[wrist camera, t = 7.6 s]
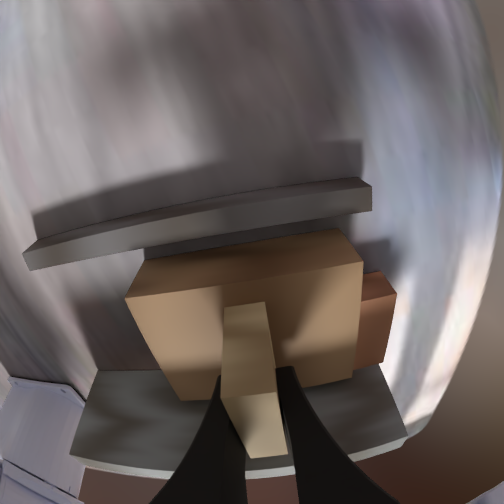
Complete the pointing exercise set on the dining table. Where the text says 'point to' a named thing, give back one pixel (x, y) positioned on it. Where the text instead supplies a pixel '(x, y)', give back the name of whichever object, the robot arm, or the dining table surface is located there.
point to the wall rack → (192, 412)
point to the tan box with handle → (252, 323)
